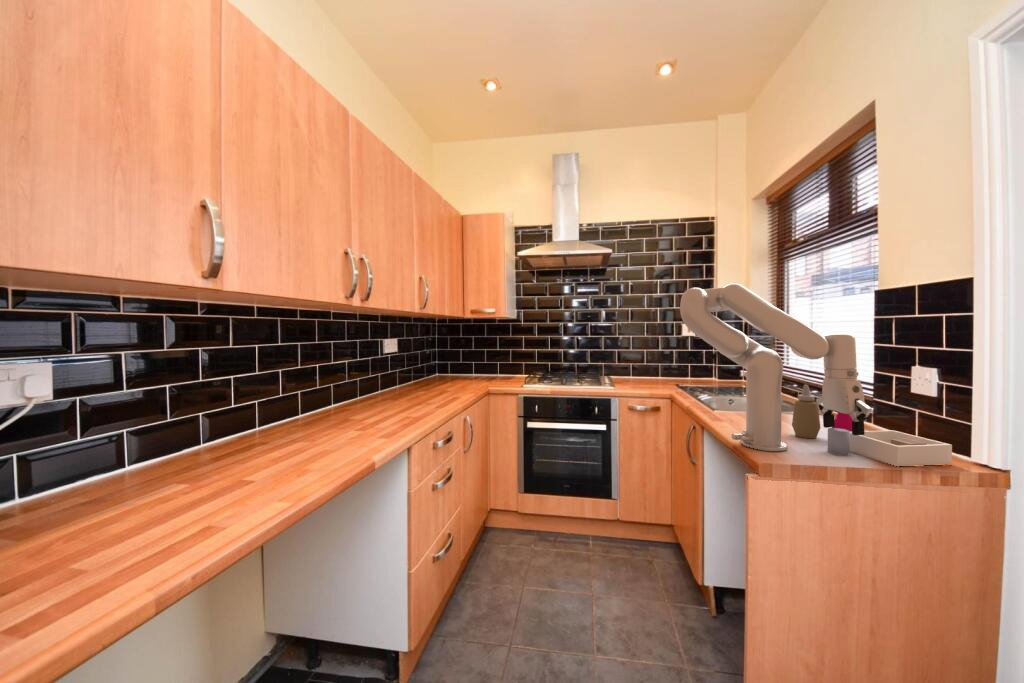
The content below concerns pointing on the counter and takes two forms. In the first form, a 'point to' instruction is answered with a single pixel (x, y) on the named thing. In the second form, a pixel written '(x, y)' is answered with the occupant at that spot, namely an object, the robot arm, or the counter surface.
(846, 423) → the pepper mill
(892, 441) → the walnut cube
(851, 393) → the robot arm
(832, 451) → the grey upright block
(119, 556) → the counter surface
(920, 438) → the tray
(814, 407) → the squeeze bottle
